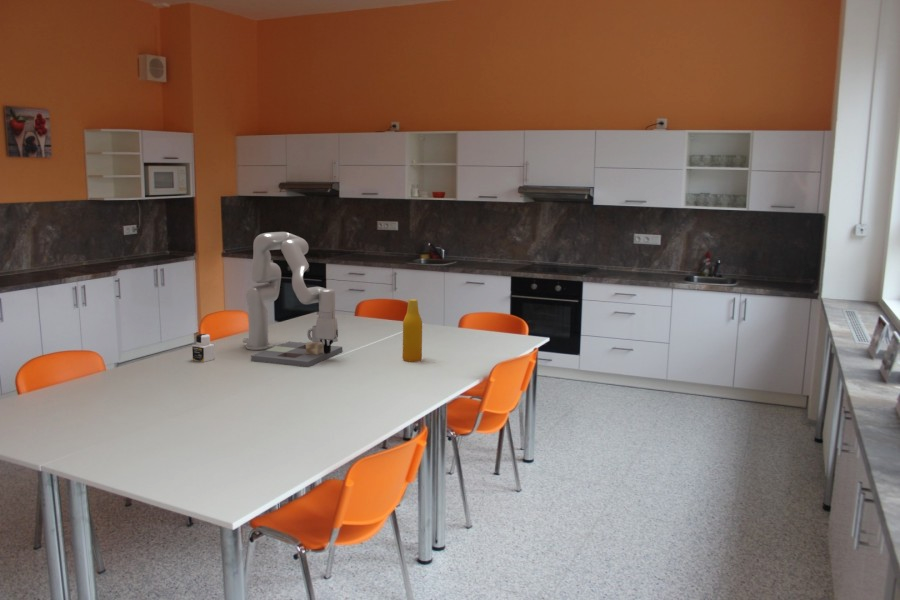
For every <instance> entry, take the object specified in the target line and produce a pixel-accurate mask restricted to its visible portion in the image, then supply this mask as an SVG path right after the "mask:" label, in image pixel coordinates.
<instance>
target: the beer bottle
mask: <svg viewBox="0 0 900 600" xmlns="http://www.w3.org/2000/svg"><path fill="white" fill-rule="evenodd" d="M406 309H407V310H406V314H405V316H404V317H403V318H404V319H403V322H402V360H403V361H404V362H407V363H417V362H422V361H421V360H422V359H423V321H422V318H421V315H420V313H419V312H420V311H419V302H418V299H415V298H411V299H408V302H407V308H406Z"/></svg>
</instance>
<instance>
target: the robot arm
mask: <svg viewBox="0 0 900 600" xmlns="http://www.w3.org/2000/svg"><path fill="white" fill-rule="evenodd" d="M252 245H253V246H252V247H253V257H252V264H251V271H250V272H251V275H250V277H251V280H252V282H254V283H255V285H251V286H250V287H248V288H247V290H246V292H245V298H246V303H247V312H248V313H247V314H248V338H247V337H244V338H243V339H242V343H246V345H245V349H247V350H251V351H265V350H267V349H270V348H273V345H272V343H269V312H268V309H267V307H266V304H268V303H272V302H275V301H276V300H277V299H278V298H279V295H280V290H281V288H280V287H281V281H282V270H281V267H280V265H278V264H277V263H275V262H272V254H271V252H270V251H274V250H275V251H276V250H278V251H279V250H281V253H282V254H283V255H282V256H283V257H284V259H285V260H286V262H287V265H288V266H289V268H290V270H291V273H292V276H291V286H292V290H293V292H294V294H295V296H296V298H297V299H298V300H299V302H300V303H301V304H302V305H311V304H316V303H318V311H317V312H316V315H318V317H316V322H315V323H316V324H315V325H316V330H315V336H316V338H317V340H319V341H321V342H322V344H323V345H324V354H328V353H330V351H331V346H332V344H333V343H336V342H338V341H339V339H338V338H339V327H338V325H339V324H338V319H337V318H336V291H335V289H334V288H325V287H321V286H311V287H307V286H306V283H305V280H304V273H305V272H306V271H307V270H308V269H309V267H310V264H309V263H308V261H307V258H306V256H305V255H306V254H308V252H309V244H308V242H307V241H306V239H304V238H302V237H300V236H299V235H295V234H293V233H289V232H287V231H274V232H273V231H271V232H264V233H260V234H259V235H257V236H256V237H255V238H254V240H253V244H252ZM256 284H257V285H256Z"/></svg>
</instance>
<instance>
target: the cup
mask: <svg viewBox="0 0 900 600" xmlns="http://www.w3.org/2000/svg"><path fill="white" fill-rule="evenodd" d="M315 330H316V324H315V325H312V326H311V327H310V328H309V329H308V330H307V333H306V335H307V338H308V340H309V341H310V342H320V343H322V342H321V341H319V340H317V338H316V336H315Z"/></svg>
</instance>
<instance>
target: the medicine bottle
mask: <svg viewBox="0 0 900 600" xmlns="http://www.w3.org/2000/svg"><path fill="white" fill-rule="evenodd" d="M195 338H196V339H195V340H196V344H192V345H191V346H192V347H191V348H192V360H193V361H194V362H202V363H207V362H209V361H213V360H215V359H216V354H215V352H216V350H215V344H213V343H211V335H210V334H208V333H200V334H198V335H196V337H195Z"/></svg>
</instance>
